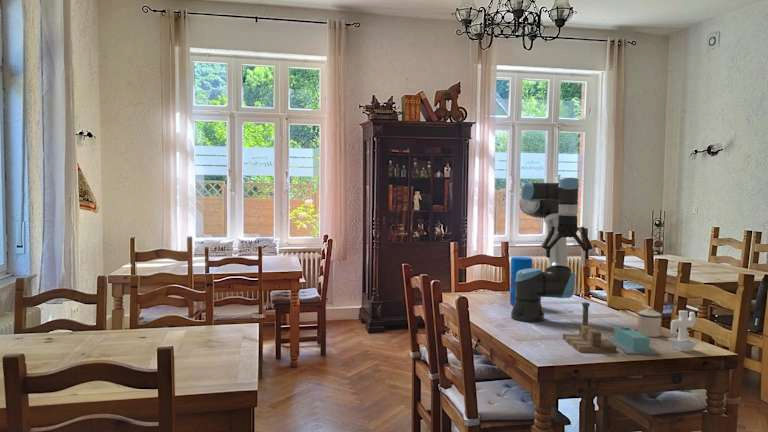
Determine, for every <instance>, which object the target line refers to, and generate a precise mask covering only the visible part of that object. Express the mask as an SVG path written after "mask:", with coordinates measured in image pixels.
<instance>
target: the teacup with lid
mask: <svg viewBox="0 0 768 432" xmlns="http://www.w3.org/2000/svg"><path fill="white" fill-rule="evenodd" d="M637 317H638V318H637V332H639V333H641V334H643V335H645V336H647V337H648V338H659V337H661V333H662V317H663V315H662V313H660V312H659V311H656V310H655V309H653V307H652V306H648V307H647V308H645V309H643V310H639V311H638V312H637Z"/></svg>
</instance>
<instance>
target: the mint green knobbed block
mask: <svg viewBox="0 0 768 432" xmlns="http://www.w3.org/2000/svg"><path fill="white" fill-rule="evenodd" d="M613 329H614V332H613V333H614V334H613V338H614V340H616V341H618V342H619V343H621V344H622V345H624V346H626V347H627V348H629V349H630V350H632V351H649V347H650V338H651V337H647V336H645V335H643V334H641V333H639V332H638V330H636V329H634V328H632V327H629V326H623V328H622V327H621V326H614V328H613Z"/></svg>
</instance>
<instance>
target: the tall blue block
mask: <svg viewBox="0 0 768 432" xmlns="http://www.w3.org/2000/svg"><path fill="white" fill-rule="evenodd" d="M529 268H533V258H531V257H527V256H513V257H511V258H510V284H509V304H511V305H512V306H511V305H510V306H511V307H513V306H514V303H515V293H516V281H515V280H516V273H517V272H518V271H519V270H522V269H529Z"/></svg>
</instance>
